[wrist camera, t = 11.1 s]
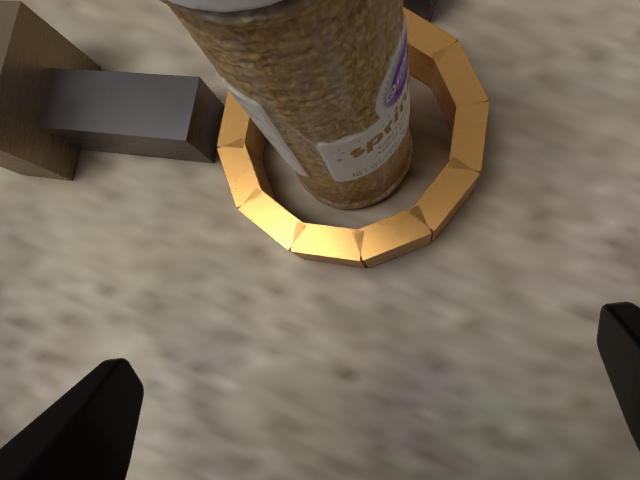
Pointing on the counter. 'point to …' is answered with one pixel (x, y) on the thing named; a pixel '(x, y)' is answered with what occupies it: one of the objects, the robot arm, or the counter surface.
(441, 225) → the coupling jig
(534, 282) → the counter surface
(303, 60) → the sprinkles bottle
